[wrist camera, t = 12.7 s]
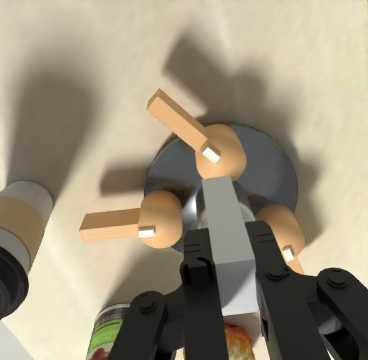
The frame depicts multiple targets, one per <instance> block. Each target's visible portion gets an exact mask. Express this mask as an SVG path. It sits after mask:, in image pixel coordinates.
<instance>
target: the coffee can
mask: <svg viewBox="0 0 368 360" xmlns="http://www.w3.org/2000/svg"><path fill="white" fill-rule="evenodd" d="M130 304H131V303H130ZM130 304H129V303H123V304H116V305H112V306H110V307H107V308H106V309H104V310H103V311H101V312H100V313H99V314H98V316H97V317H96V319H95V322H94V329H93V332H92V336H91V340H90V344H89V348H88V352H87V356H86V360H107V357H108V355H109V353H110V350H111V348H112V346H113V343H114V341H115V339H116V337H117V334H118V332H119V330H120V327H121V325H122V323H123V320H124V318H125V316H126V313H127V311H128V309H129V306H130Z"/></svg>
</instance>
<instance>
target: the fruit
mask: <svg viewBox="0 0 368 360" xmlns="http://www.w3.org/2000/svg"><path fill="white" fill-rule="evenodd" d="M224 328H225V334H226V341H227V348H228V354H229V360H255V356H254V353H253V351H252V345H251V341H250V340H251V339H250V338H249V337H248V336H247V334H246V333H245V332H244V331H243V330H242V329H240V328H239V327H238V326H237V327H236V326H234V327H230V326H228V324H226V323H224ZM183 355H184V360H185V347H184V349H183Z"/></svg>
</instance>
